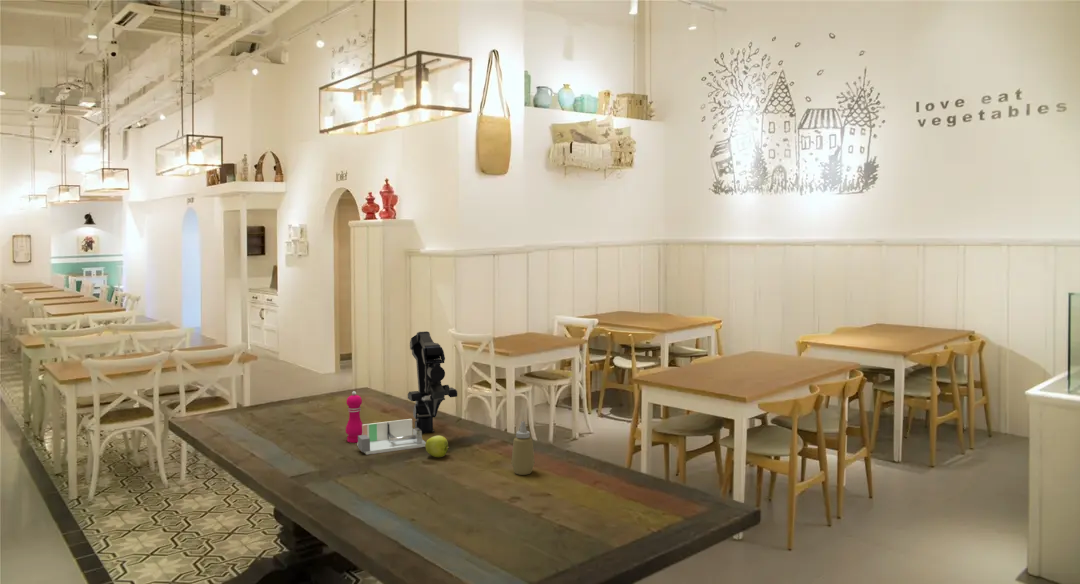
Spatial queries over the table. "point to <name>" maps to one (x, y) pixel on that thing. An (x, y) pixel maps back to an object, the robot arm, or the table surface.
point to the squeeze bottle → (523, 452)
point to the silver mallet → (416, 436)
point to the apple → (437, 446)
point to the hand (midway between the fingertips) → (433, 415)
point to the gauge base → (386, 437)
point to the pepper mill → (354, 418)
